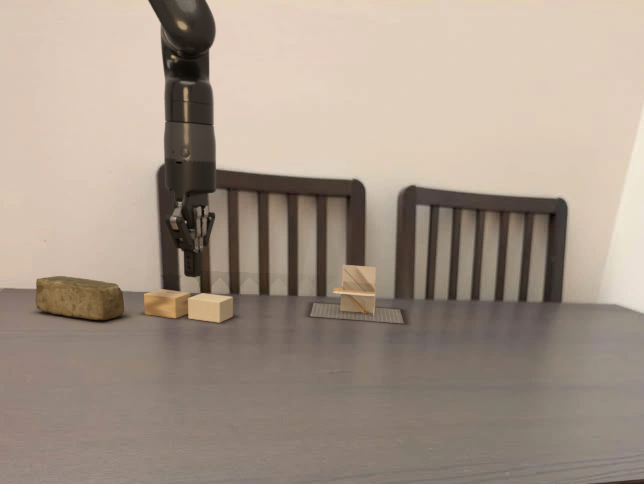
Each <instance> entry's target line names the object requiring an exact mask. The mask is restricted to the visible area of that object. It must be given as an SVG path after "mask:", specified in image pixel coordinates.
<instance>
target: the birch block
mask: <svg viewBox="0 0 644 484" xmlns="http://www.w3.org/2000/svg"><path fill="white" fill-rule="evenodd" d="M190 297H191V292H187V291H181V290H180V291H179V290H171V289H164V288H159V289H156V290H152V291H148V292H146V293H144V294H143V302H144V303H143V305H144V315H145V316H146V315H147V316H154V317H161V318H170V319H179V318H181V317H183V316H185V315H188V298H190Z"/></svg>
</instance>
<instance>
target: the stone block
mask: <svg viewBox="0 0 644 484" xmlns="http://www.w3.org/2000/svg"><path fill="white" fill-rule="evenodd" d="M35 281H36V282H35V287H36V288H35V306H36V309H38V310H40V311H42V312H44V313H50V314H53V315H60V316H65V317H73V318H82V319H85V320H92V321H93V320H94V321H107V320H111V319H116V318H118V317H120V316H122V315H123V314H124V313H125V301H124V295H123V290H122V289H121V288H120V287H119V285H118V284H117V283H113V282H107V281H104V280H103V281H102V280H95V279H89V278H81V277H72V276H66V275H65V276H64V275H55V276H49V277H41V278H36V280H35Z"/></svg>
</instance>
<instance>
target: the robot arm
mask: <svg viewBox="0 0 644 484" xmlns="http://www.w3.org/2000/svg"><path fill="white" fill-rule="evenodd" d="M147 2H148V3H149V5H150V7H151V9H152V11H153V12H154V14H155V16H156V18H157V19H158V21H159V23H160V27H159V28H160V48H161V49H160V50H161V59H162V66H163V76H164V94H163V96H164V97H163V100H164V132H163V154H164V155H163V157H164V183H165V184H164V186H165V188H166V189H167V190H168V191H171V192H172V191H173V193H174V195H173V196H174V197H173V202H172V208H173V212H172V215H170V214H169V215H168V214H167V215H165V223H166V226H167V229H168V232H169V234H170V236H171V239H172V241H173V244H174V246H175V248H176V249H179V250H181V252H183V274H184V276H185V277H188V278H198V277H200V276H201V275H202V260H201V259H202V252H203V250H204V247H207V246H208V244H209V241H210V238H211V234H212V232H213V231H212V230H213V228H214V225H215V220H216V213H215V212H214V211H209V201H208V194H214V193H216V191H217V142H216V141H217V140H216V135H215V133H216V132H215V126H214V125H215V101H214V98H215V97H214V89H213V87H212V83H211V81H210V49H211V48H212V46H213V45H214V43H215V40H216V36H217V25H216V21H215V16H214V15H213V12H212V10H211V8H210V5H209V4H208V2H207V0H147Z"/></svg>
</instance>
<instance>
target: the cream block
mask: <svg viewBox="0 0 644 484" xmlns="http://www.w3.org/2000/svg"><path fill="white" fill-rule="evenodd" d="M187 315H188V317H187V319H189V320H196V321H204V322H210V323H217V324H218V323H219V324H220V323H222V322H224V321H226V320H229V319H231V318H233V317H234V297H233V296H230V295H229V296H228V295H221V294H215V293H205V292H201V293H198V294H196V295H194V296H190V298H188V314H187Z"/></svg>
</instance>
